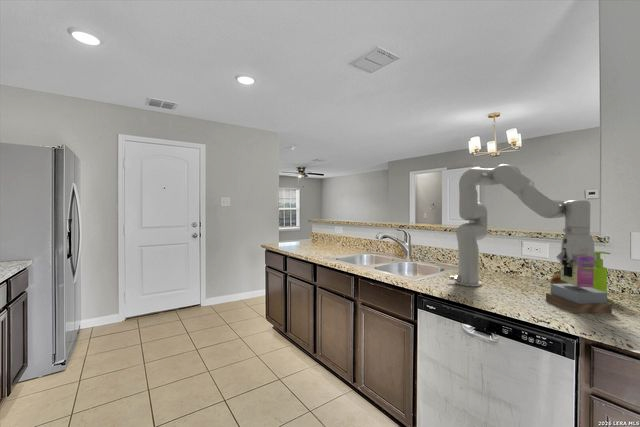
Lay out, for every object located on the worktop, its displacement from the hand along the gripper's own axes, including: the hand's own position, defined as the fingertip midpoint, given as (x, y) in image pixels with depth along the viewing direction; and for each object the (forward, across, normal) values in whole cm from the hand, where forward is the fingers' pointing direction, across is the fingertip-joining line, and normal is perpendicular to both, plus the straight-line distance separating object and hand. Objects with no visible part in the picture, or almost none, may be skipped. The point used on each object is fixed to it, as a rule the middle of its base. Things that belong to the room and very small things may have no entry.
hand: (576, 275), depth 117 cm
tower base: (+13, 0, 0) cm, 13 cm away
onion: (+13, +16, +27) cm, 34 cm away
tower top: (+9, 0, 0) cm, 9 cm away
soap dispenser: (+13, +20, +11) cm, 26 cm away
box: (+3, 0, 0) cm, 3 cm away
